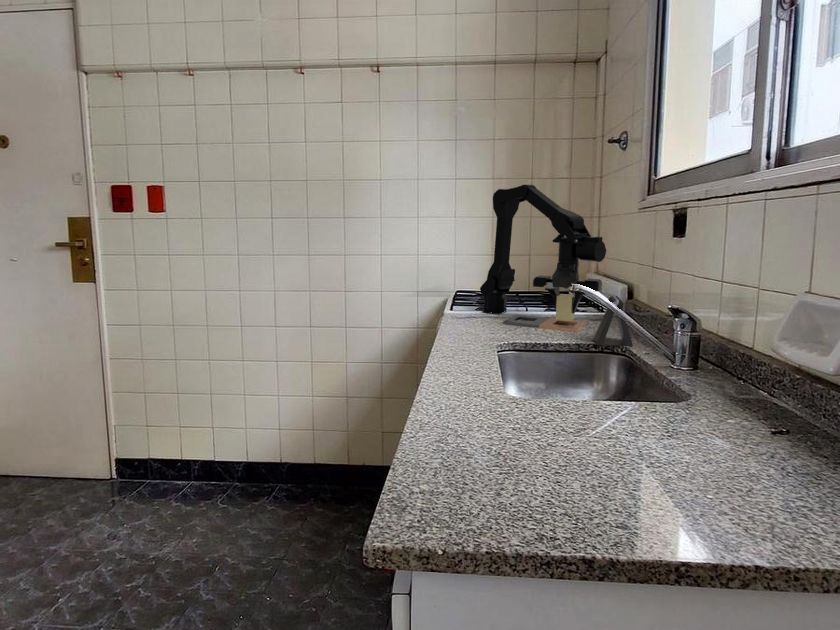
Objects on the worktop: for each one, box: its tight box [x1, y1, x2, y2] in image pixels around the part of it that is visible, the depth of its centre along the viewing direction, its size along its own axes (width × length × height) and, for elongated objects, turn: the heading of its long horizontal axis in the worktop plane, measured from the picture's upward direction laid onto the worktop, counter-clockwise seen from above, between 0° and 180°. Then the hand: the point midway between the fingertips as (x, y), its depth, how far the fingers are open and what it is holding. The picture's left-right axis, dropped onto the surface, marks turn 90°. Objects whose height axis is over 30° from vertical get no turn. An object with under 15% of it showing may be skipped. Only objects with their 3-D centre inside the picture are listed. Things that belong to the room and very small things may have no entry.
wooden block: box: [555, 293, 576, 321], centre depth 163 cm, size 4×4×7 cm
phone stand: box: [593, 295, 634, 348], centre depth 144 cm, size 9×6×12 cm, turn 78°
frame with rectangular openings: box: [502, 314, 588, 333], centre depth 167 cm, size 22×12×1 cm, turn 61°
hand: (565, 312), depth 164 cm, fingers closed on wooden block, 4 cm apart
